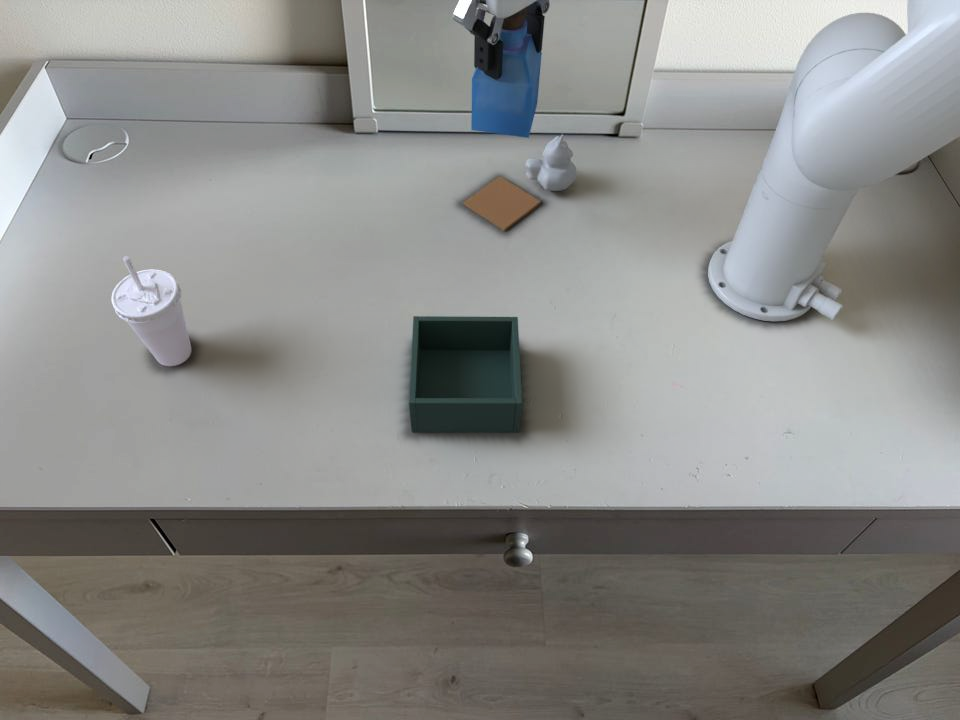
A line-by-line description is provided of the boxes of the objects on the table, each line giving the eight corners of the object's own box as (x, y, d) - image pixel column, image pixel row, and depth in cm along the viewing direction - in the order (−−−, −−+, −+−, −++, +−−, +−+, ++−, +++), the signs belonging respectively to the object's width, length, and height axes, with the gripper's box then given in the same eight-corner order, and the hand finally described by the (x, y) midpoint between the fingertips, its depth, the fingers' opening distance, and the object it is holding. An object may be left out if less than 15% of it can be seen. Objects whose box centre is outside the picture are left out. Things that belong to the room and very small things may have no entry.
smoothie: (179, 320, 86) (137, 227, 75) (216, 349, 84) (179, 258, 73) (130, 355, 83) (79, 263, 72) (167, 387, 81) (121, 297, 70)
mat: (540, 203, 99) (541, 201, 99) (504, 231, 96) (504, 229, 95) (499, 178, 102) (499, 176, 101) (463, 204, 98) (463, 202, 98)
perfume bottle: (528, 137, 82) (537, 31, 73) (471, 130, 83) (472, 23, 73) (537, 103, 86) (546, -2, 76) (482, 96, 87) (484, -10, 77)
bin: (514, 347, 85) (517, 316, 81) (518, 432, 78) (522, 403, 74) (415, 347, 85) (413, 316, 80) (411, 432, 78) (408, 403, 74)
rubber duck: (575, 199, 99) (583, 148, 93) (524, 198, 99) (528, 147, 93) (573, 171, 103) (580, 120, 96) (523, 170, 103) (527, 119, 96)
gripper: (483, -90, 59) (479, 113, 74) (615, -154, 67) (588, 40, 82) (413, -119, 62) (422, 81, 77) (547, -178, 70) (533, 14, 85)
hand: (508, 58), depth 79 cm, fingers closed on perfume bottle, 5 cm apart
